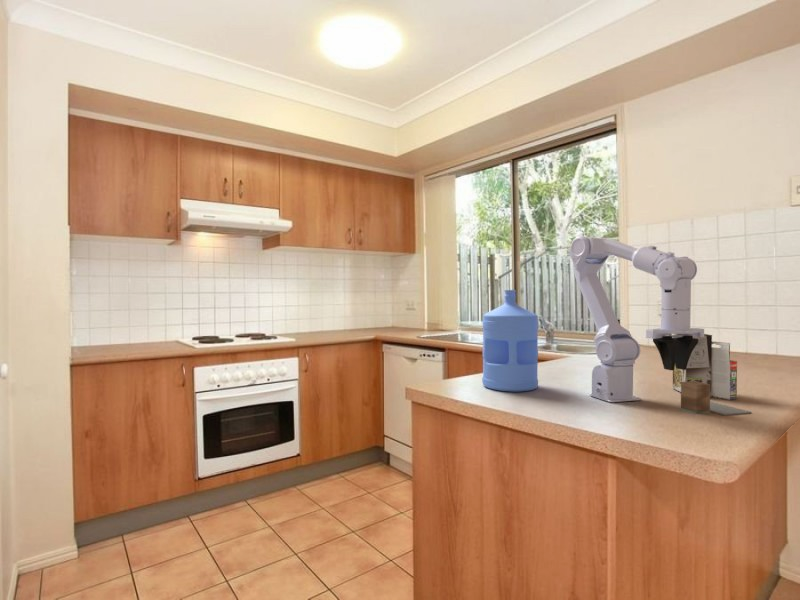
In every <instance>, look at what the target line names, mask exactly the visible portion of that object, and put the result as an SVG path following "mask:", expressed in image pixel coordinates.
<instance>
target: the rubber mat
mask: <svg viewBox="0 0 800 600" xmlns="http://www.w3.org/2000/svg"><path fill="white" fill-rule="evenodd" d="M710 413H714V414H717V415H720V416H726V417H727V416H735V415H736V416H737V415H745V414H746V415H747V414H752V411H750V410H745V409H742V408H737V407H733V406H730V405H726V404H722V403H719V402H714V401H710Z"/></svg>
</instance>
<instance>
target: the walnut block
mask: <svg viewBox="0 0 800 600" xmlns="http://www.w3.org/2000/svg"><path fill="white" fill-rule="evenodd" d="M710 402H711V396H710V384H706V383H702V382H697V381H687V382H681V392H680V410H681V411H685V412H689V413H691V414H695V415H697V414H709V413H711V412H710Z"/></svg>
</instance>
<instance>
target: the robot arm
mask: <svg viewBox="0 0 800 600" xmlns="http://www.w3.org/2000/svg"><path fill="white" fill-rule="evenodd" d="M568 254H569V257H570V259H571V261H572V268H573V274H574V279H575V281H576V283H577V285H578V287H579V290H580V292H581V295H582V297H583V299H584V301H585V303H586V306H587V308H588V310H589V313H590V315H591V318H592V320H593V322H594V324H595V328H596V330H597V333H596V335H595V336H594V337H593V342H594V344H595V354H596V356H597V358H598V359H599V360H600V364H597V365H595V366H594V367H593V369H592V372H591V393H589V396H590V397H594V398H596V399H600V400H602V401H605V402H609V403H619V402H621V403H622V402H633V401H641V400H642V398H641V397H639V396H635V395H634V364H636V360H637V359H638V358H639V356H640V354H641V346H640V343H639V342H638V341H637V340H636V339H635V338H634V337H633V336H632V334H631V333H630V330H628V329H627V328H625V327H624V326H622V325H621V324H620V322H619V320H618V318H617V316H616V313H615V311H614V310H613V307H612V304H611V302H610V300H609V298H608V296H607V294H606V292H605V289H604V287H603V285H602V283H601V281H600V278H599V276H598V272H599V271H600V270H601V268H603V266H604V264H605V263H606V261H607V260H608V259H609V257H610V256H611V257H612V256H613V257H617V258H621V259H624V260H628V261H629V262H632V265H633V267H634V268H635V269H637V270H639V271H642V272H645V273H647V274H650V275H653V276H655V277H656V278H657V279H658V280H659V282H660V283H659V284H660V285H659V286H660V289H661V293H660V294H661V297H660V299H661V300H660V301H661V303H660V305H661V310H660V313H661V314H660V327H659V328H647V329H645V338H647V339H651V340H652V342H653V344H654V346H655V347H656V349H657V351H658V353H659V356H660V359H661V363H662V366H663V369H664V370H667V371H673V370H674V367H675V366H676V368H677V369H682V370H686V367H687V364H688V361H689V358H690V355H691V353H692V351H693V349H694V348H695V346H696V345H697V344H698V339H696V338H693V337H704V334H705V328H700V327H692V328H691V311H692V309H691V307H692V305H691V303H692V302H691V299H692V298H691V297H692V294H691V293H692V280H693V279H694V278H695V277H696V276H697V273H698V267H697V264H696V262H695V261H694V260H693V259H691V258H689V257H688V256H680V257H679V256H677V257H676V255H675V252H671V251H667V252H665V251H662V250H658V247H657V246H656V245H648V246H641V247H639V248H636V247H633V246H631V245H628V244H626V243H624V242H621V241H618V240H616V239H613V238H606V237H595V236H593V237H592V236H584V235H578V236H575V238H574V239H573V240H572V241H571V244H570V246H569V249H568ZM673 334H685V335H673ZM676 337H678V338H676Z"/></svg>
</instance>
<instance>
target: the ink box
mask: <svg viewBox="0 0 800 600" xmlns="http://www.w3.org/2000/svg"><path fill="white" fill-rule="evenodd" d="M712 345H717V346H720V347H714V346H712V358H711V396H710V397H712V396H713V398H717V397H718V398H717V399H722V398H723V400H736V399H737V397H738V395H737V394H738V387H737V386H738V361H737V360H731V357H730V355H731V343H730V342H725V341H724V342H723V341H713V340H712Z"/></svg>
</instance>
